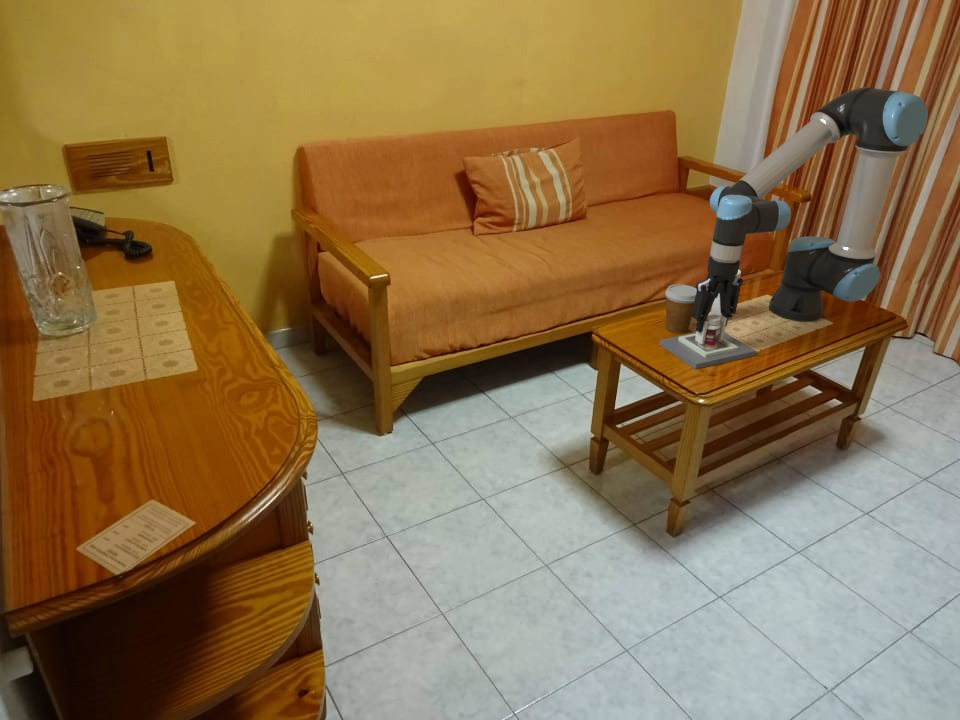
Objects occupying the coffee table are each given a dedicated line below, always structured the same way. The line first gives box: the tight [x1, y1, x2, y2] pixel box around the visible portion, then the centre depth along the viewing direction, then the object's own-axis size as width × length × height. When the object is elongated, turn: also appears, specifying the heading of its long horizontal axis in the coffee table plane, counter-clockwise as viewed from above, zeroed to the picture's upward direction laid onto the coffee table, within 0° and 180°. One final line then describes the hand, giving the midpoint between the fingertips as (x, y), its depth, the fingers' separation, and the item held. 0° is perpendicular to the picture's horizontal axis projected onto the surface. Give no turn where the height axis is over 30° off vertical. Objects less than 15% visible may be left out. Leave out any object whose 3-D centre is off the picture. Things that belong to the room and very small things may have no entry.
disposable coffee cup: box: [664, 284, 697, 334], centre depth 193 cm, size 10×10×12 cm
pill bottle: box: [699, 313, 721, 348], centre depth 181 cm, size 5×5×8 cm
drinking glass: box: [710, 268, 742, 320], centre depth 199 cm, size 7×7×15 cm
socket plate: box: [659, 331, 757, 370], centre depth 183 cm, size 20×15×2 cm
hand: (708, 339), depth 183 cm, fingers open, 6 cm apart
